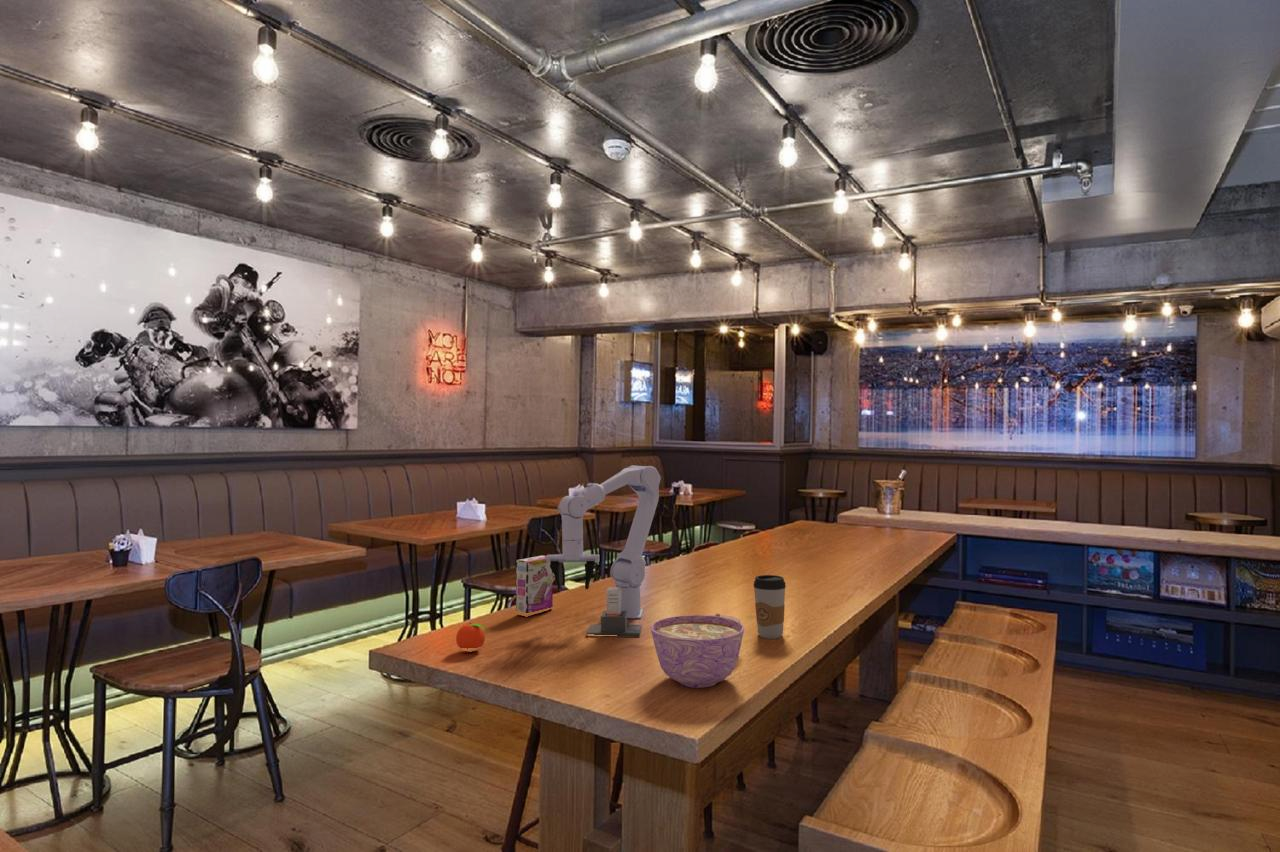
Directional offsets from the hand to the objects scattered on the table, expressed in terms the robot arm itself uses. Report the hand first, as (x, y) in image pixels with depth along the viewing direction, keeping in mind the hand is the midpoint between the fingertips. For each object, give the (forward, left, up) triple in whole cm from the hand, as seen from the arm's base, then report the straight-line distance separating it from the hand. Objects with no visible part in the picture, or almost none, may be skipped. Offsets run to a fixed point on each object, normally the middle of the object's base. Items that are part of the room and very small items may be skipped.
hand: (573, 588), depth 196 cm
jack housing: (+6, +12, -10) cm, 17 cm away
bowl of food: (+43, +34, -11) cm, 56 cm away
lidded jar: (+23, +39, -11) cm, 47 cm away
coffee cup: (+8, +53, -11) cm, 55 cm away
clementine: (+24, -21, -11) cm, 34 cm away
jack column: (+6, +12, -7) cm, 15 cm away
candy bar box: (-15, -14, -11) cm, 23 cm away
